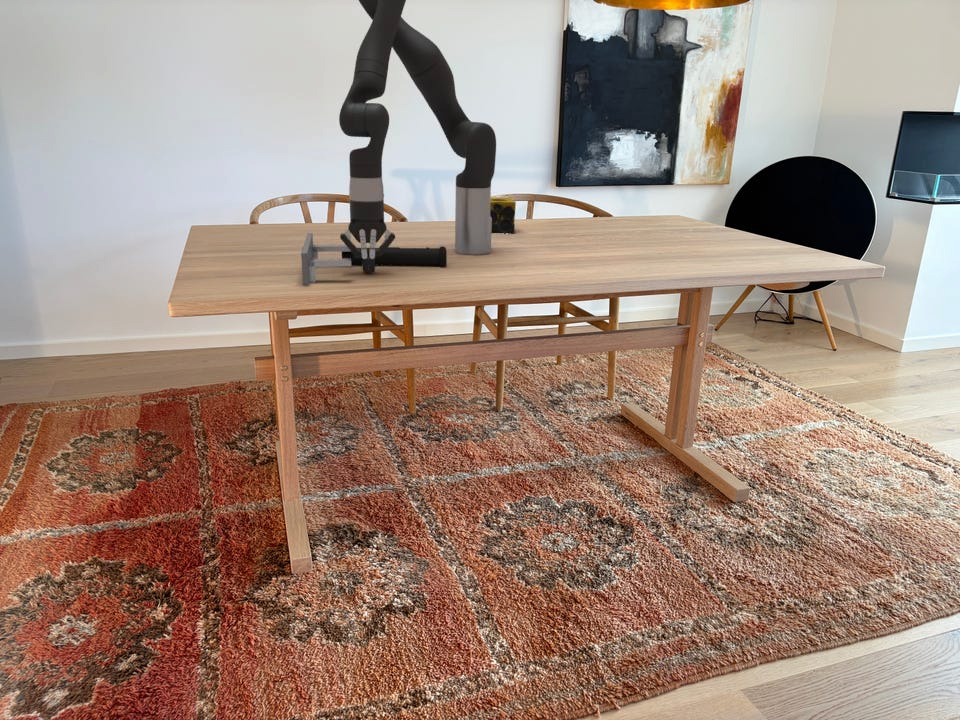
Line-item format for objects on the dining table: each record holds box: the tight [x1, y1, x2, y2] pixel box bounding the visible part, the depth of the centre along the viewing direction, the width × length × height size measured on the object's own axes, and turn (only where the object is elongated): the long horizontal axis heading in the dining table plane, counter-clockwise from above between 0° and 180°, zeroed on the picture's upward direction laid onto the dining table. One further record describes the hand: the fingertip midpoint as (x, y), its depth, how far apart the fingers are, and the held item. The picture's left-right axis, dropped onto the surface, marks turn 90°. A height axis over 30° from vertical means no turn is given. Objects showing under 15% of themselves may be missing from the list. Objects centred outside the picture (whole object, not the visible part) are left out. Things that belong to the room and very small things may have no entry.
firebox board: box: [300, 232, 314, 287], centre depth 165 cm, size 1×24×8 cm, turn 10°
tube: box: [341, 245, 448, 268], centre depth 177 cm, size 25×6×6 cm, turn 95°
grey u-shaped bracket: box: [308, 243, 352, 284], centre depth 166 cm, size 9×18×6 cm, turn 10°
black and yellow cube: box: [490, 196, 517, 235], centre depth 227 cm, size 10×10×10 cm
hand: (368, 274), depth 168 cm, fingers closed
